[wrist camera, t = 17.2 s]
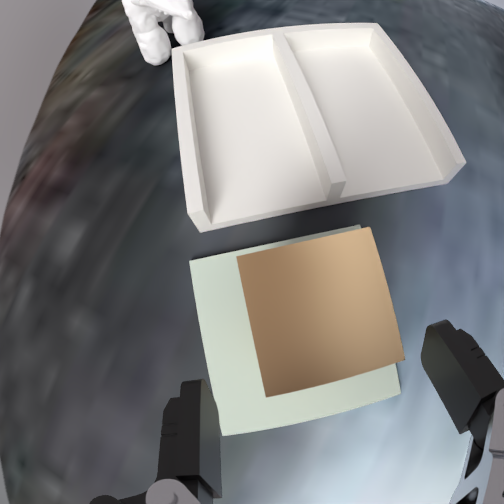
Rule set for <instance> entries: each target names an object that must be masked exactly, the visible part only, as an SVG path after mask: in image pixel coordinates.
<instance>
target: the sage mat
mask: <svg viewBox="0 0 504 504" xmlns="http://www.w3.org/2000/svg"><path fill="white" fill-rule="evenodd" d="M357 229H361V227H360V225H355V226H351V227H346V228H341V229H336V230H332V231H327V232H322V233H318V234H313V235H308V236H304V237H299V238H294V239H289V240H285V241H280V242H275V243H271V244H266V245H261V246H257V247H252V248H247V249H243V250H238V251H233V252H229V253H224V254H219V255H215V256H210V257H206V258H201V259H196V260H192V261H189V262H190V269H191V275H192V282H193V288H194V294H195V300H196V306H197V312H198V318H199V323H200V329H201V335H202V340H203V345H204V351H205V356H206V361H207V366H208V371H209V376H210V381H211V386H212V390H213V395H214V400H215V402H216V404H217V408H218V412H219V422H220V427H221V431H222V435H223V436H226V435H234V434H241V433H247V432H254V431H260V430H265V429H271V428H276V427H281V426H286V425H291V424H296V423H301V422H305V421H309V420H314V419H318V418H322V417H326V416H330V415H334V414H337V413H341V412H345V411H348V410H352V409H355V408H359V407H362V406H365V405H369V404H372V403H375V402H378V401H381V400H384V399H387V398H390V397H393V396H396V395H399V394H401V391H400V385H399V379H398V374H397V369H396V363H394V364H391V365H388V366H385V367H382V368H379V369H376V370H373V371H370V372H366V373H363V374H360V375H356V376H353V377H350V378H346V379H343V380H339V381H335V382H332V383H328V384H324V385H320V386H316V387H312V388H308V389H304V390H299V391H295V392H291V393H286V394H282V395H277V396H272V397H267V398H266V396H265V391H264V387H263V382H262V378H261V373H260V368H259V364H258V359H257V354H256V350H255V345H254V340H253V336H252V331H251V326H250V321H249V317H248V312H247V307H246V302H245V297H244V293H243V288H242V283H241V278H240V273H239V268H238V263H237V258H236V256H240V255H245V254H249V253H254V252H258V251H263V250H267V249H272V248H276V247H281V246H285V245H290V244H294V243H299V242H303V241H308V240H312V239H317V238H321V237H326V236H330V235H335V234H339V233H344V232H348V231H353V230H357Z"/></svg>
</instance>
